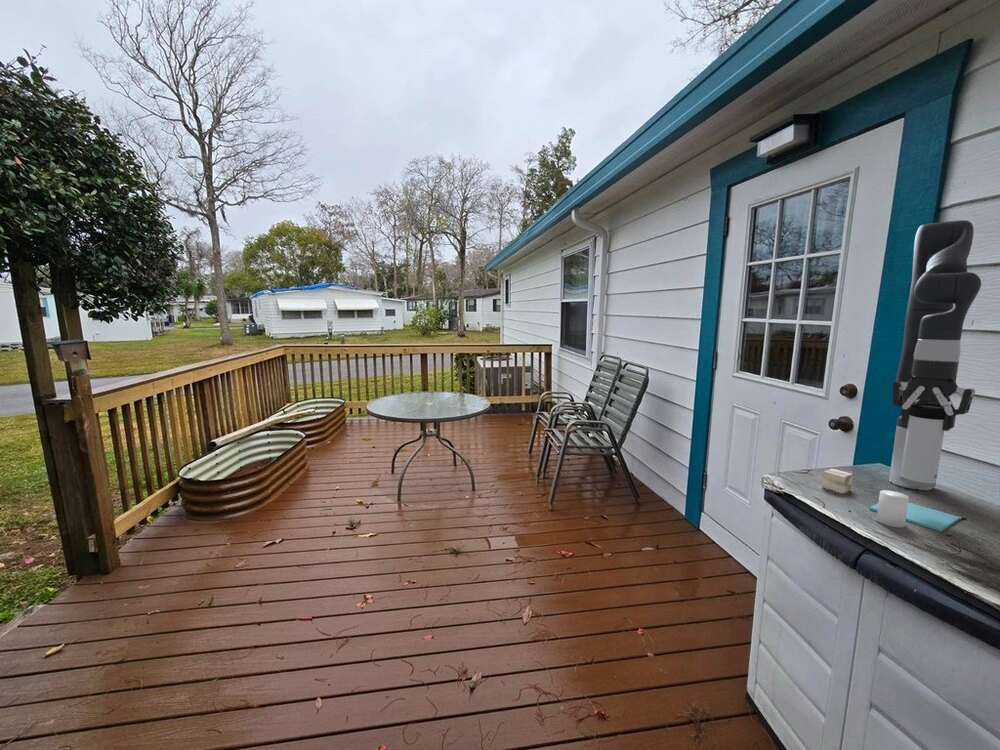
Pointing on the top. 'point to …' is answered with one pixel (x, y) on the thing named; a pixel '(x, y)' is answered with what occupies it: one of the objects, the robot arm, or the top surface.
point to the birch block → (837, 480)
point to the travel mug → (923, 445)
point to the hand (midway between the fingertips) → (925, 427)
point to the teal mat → (927, 517)
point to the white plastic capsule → (892, 508)
